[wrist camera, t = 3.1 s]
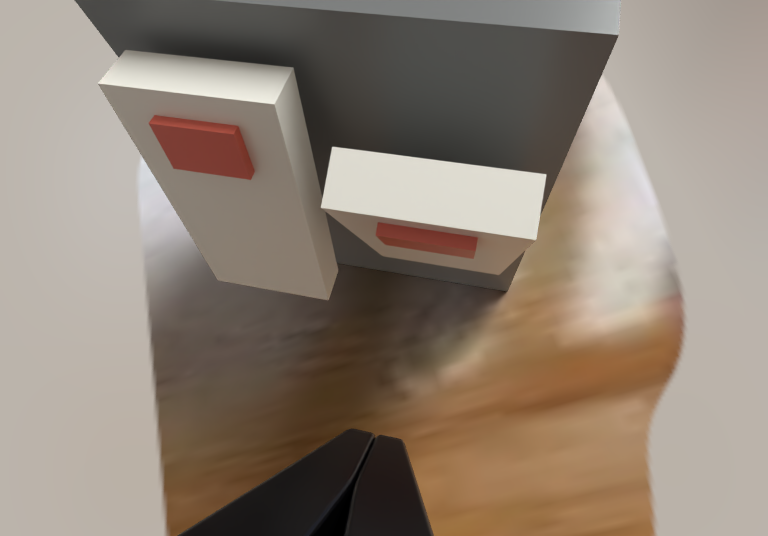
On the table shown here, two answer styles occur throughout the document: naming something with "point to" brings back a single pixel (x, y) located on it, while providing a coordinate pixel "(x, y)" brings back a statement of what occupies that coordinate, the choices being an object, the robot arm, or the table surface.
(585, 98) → the switch box
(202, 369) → the table surface
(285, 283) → the block
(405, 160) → the block
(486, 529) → the table surface
